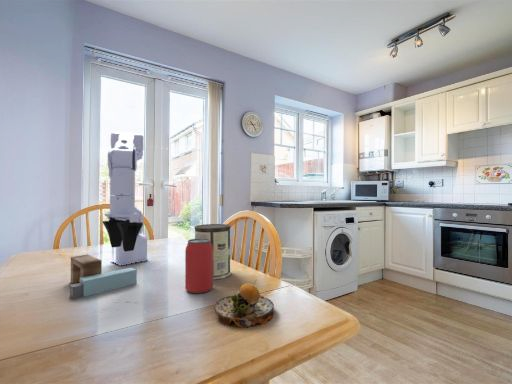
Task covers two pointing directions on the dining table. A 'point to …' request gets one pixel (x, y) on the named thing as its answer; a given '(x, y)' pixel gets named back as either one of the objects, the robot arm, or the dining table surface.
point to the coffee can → (217, 246)
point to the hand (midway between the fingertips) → (122, 248)
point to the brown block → (84, 267)
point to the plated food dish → (245, 307)
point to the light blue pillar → (103, 282)
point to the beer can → (199, 266)
